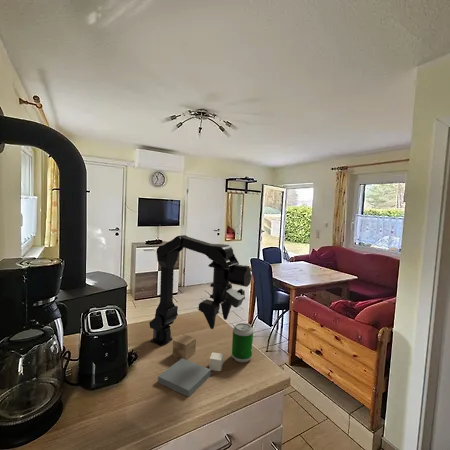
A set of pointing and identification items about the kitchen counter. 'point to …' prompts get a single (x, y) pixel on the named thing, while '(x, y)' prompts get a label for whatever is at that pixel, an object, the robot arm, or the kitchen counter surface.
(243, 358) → the soda can
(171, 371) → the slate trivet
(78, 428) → the kitchen counter surface
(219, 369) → the pale stone block
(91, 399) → the kitchen counter surface
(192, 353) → the walnut cube
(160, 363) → the kitchen counter surface
